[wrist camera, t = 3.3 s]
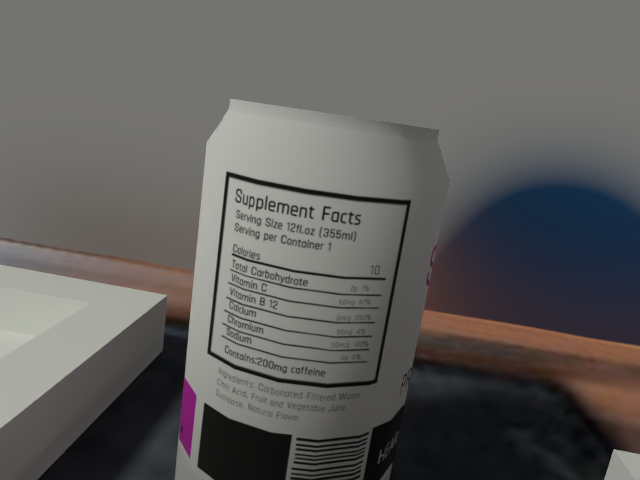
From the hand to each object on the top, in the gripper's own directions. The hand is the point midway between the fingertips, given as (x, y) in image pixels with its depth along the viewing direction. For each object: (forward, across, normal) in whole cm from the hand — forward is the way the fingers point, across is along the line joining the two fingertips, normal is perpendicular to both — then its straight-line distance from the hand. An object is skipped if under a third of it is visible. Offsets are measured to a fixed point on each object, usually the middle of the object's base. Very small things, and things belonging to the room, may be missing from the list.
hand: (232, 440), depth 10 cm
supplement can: (+10, 0, -9) cm, 13 cm away
